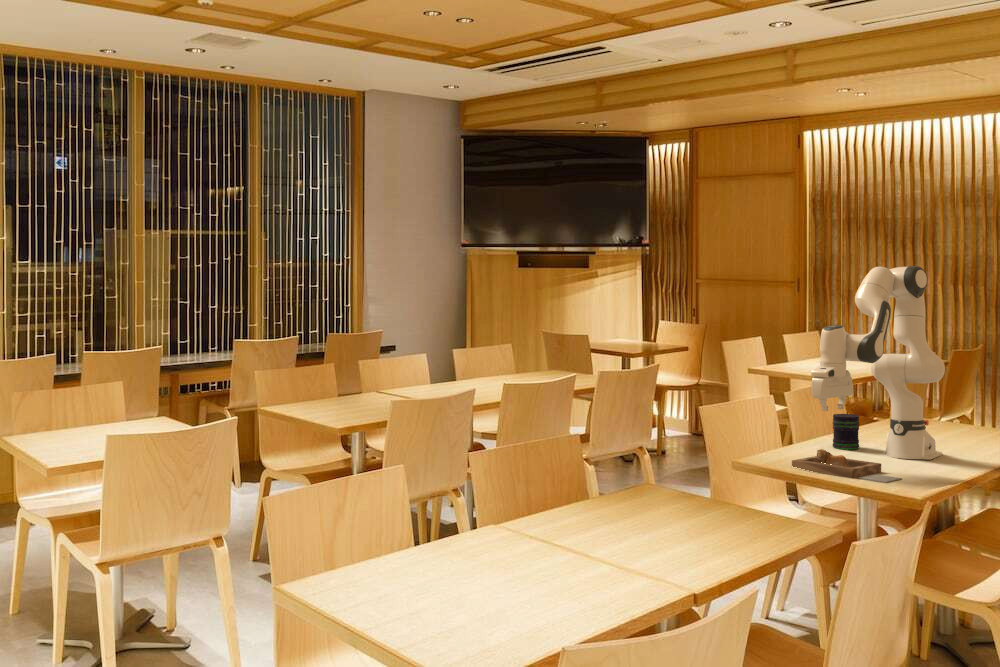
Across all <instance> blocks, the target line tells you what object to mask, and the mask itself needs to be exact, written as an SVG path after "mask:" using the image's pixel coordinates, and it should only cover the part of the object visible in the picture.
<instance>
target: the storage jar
mask: <svg viewBox="0 0 1000 667" xmlns="http://www.w3.org/2000/svg"><path fill="white" fill-rule="evenodd" d="M832 417H833V418H832V429H833V438H832V447H834V449H837V450H841V451H857V450H859V448H860V444H859V443H860V440H859V430H860V422H859V421H860V419H859V418H860V415H858V414H851V413H836V414H835V413H834V414H833V415H832Z"/></svg>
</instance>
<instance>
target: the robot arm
mask: <svg viewBox="0 0 1000 667" xmlns="http://www.w3.org/2000/svg"><path fill="white" fill-rule="evenodd" d="M928 279H929V278H928V275H927V273H926V271H925V269H924V268H923V267H921V266H917V265H909V266H899V267H898V266H897V267H894V268H887V267H885V266H875V267H872V268H871V269H870V270H869V272H868V273H867V274H866V275H865V276H864V278H863V280H862V281H861V283H860V285H859V286H858V289H857V290H856V292H855V296H854V303H855V305H856V307H857V309H858V310H859V311H860V312H861V313H863V315H866V316H868V317H871V318H873V321H872V325H871V329H870V332H868V333H865V334H858V333H857V334H853V333H852V334H851V333H850V332H847V331H846V330H845V326H844V325H842V324H833V325H832V324H831V325H827V326H824V327H823V328H822V330H821V333H820V337H819V338H820V340H819V352H820V360H819V365H818V366H817V367H815V368H814V369H813V370H811V371H810V372H811V373H810V376H811V377H812V379H811V395H812V398H813V399H818V400H819V404H820V406H821V411H822V412H828V411H829V405H828V404H827V401H828V399H831V398H832V399H833V398H838V399H839V400H838V403H836V406H837V409H838V410H844V408H845V402H846V400H847V397H850V396H853V394H854V385H853V384H854V383H853V378H852V376H851V373H850V371H849V370H847V361H849V362H858V363H859V362H862V363H867V364H871V365H870V371H871V374H872V376H873V377H874V378H875V380H877V381H878V382H879V383H881V385H882V386H884V388H885V390H886V391H887V394H888V396H889V399H890V409H891V410H890V411H891V413H890V414H891V415H890V416H891V418H890V419H889V428H890V431H888V432H887V433H886V434H887V437H886V446H885V447H886V448H885V450H883V453H884V454H886V455H887V457H889V456H890V458H896V459H902V460H903V459H905V460H932V459H933V460H934V459H935V458H937V457H940V456H942V455H943V452H942V451H938V450H936V448H937V447H936V440H935V438H934V437H933V436H932V435H931V434H930V432H928V431H927V430H926V426H929V424H930V420H928V419H924V401H923V399H922V396H920V395H918V394H917V393H915V392H913V391H911V390H910V389H908V387H907V385H906V384H908V383H909V384H931V383H932V384H933V383H939V382H940V381H941V380H942V379H943V377H944V375H945V372H946V366H945V363H944V361H943V359H942V358H941V357H940V356H938V355H937V354H936V353H935V352H934V351H933V350H932V349H931V347H930V345H929V344H928V341H927V334H926V317H927V316H926V303H925V297H924V295H923V294H924V292H925V290H926V288H927V286H928V282H929V281H928ZM889 298H892V299H893V298H895V301H896V302H895V307H894V314H893V331H892V334H893V338H894V340H895V341H896V342H897V343H899V344H901V345H903V346H905V347H906V348H908V349H909V353H885V354H884V351H885V350H884V349H885V340H886V336H887V332H888V327H889V324H890V320H891V315H892V311H891V310H892V309H891V305H890V303H889V302H888V300H889Z"/></svg>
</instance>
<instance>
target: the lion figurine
mask: <svg viewBox="0 0 1000 667" xmlns="http://www.w3.org/2000/svg"><path fill="white" fill-rule="evenodd" d="M816 456H817V458H818V459H819V460H821V462H822V463H826V464H830V463H832V464H836V463H838V462H840V464H841V465H842V466H844V467H847V466H848V467H849V465H848V461H847V459H848V458H846V456H844V455H842V454H838V455H833V454H832V453H831V452H829V451H828V450H825V449H823V448H820V449H818V450H816ZM845 460H846V463H847V465H846V464H845Z"/></svg>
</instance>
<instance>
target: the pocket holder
mask: <svg viewBox="0 0 1000 667" xmlns="http://www.w3.org/2000/svg"><path fill="white" fill-rule="evenodd" d="M846 459H847V461H848V465H849V467H848V466H847V467H844V466H842V465H841V464H840V462H838V463H836V464H832V463H830V464H832V465H830V464H824V463H821V460H819V459H818V458H817V455H816V456H815V455H814V456H808V457H802V458H798V459H792V460H791V467H792V466H793V467H797V468H801V469H805V470H804V471H806V470H809V471H808V472H810V471H813V472H812V473H815V472H819V473H818V474H822V473H823V474H822V475H827V476H828V475H829V476H835V477H840V478H841V477H843V478H848V479H855V478H858V477H863V476H868V475H872V474H879V473H882V463H879V462H874V461H873V462H872V461H865V460H860V459H859V460H858V459H852V458H851V459H850V458H846ZM845 464H846V465H847V463H846V460H845ZM797 468H796V469H797ZM801 469H800V470H801Z"/></svg>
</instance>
